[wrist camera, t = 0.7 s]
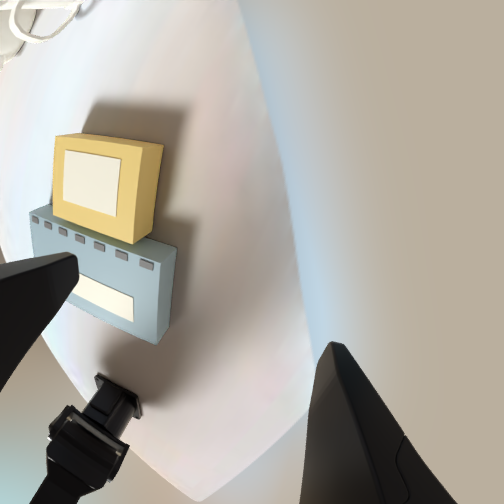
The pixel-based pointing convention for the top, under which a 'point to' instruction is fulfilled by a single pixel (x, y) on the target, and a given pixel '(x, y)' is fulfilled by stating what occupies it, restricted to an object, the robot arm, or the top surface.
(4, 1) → the cup
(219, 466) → the top surface
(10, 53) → the mug
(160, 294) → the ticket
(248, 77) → the top surface
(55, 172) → the yellow box
